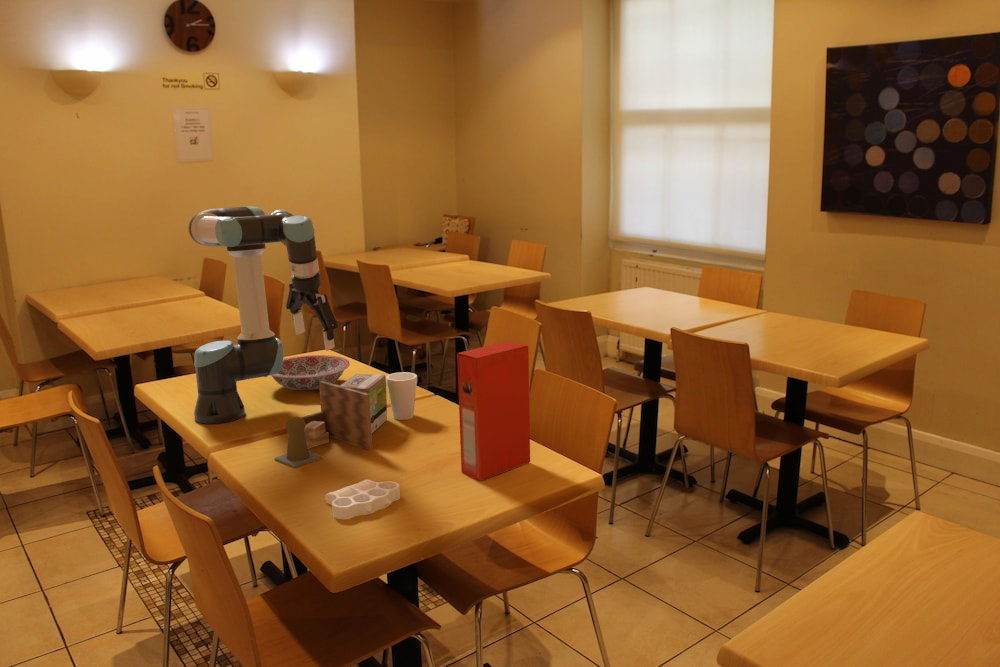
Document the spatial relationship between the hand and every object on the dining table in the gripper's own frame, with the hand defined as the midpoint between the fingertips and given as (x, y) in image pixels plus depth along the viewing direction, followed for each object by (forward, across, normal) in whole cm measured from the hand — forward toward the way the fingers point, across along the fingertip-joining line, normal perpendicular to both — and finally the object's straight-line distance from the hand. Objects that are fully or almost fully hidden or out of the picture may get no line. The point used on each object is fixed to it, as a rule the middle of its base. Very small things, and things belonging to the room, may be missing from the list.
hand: (315, 340), depth 233 cm
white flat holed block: (+15, +49, -26) cm, 57 cm away
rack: (+26, +14, -8) cm, 30 cm away
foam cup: (+33, +10, +21) cm, 41 cm away
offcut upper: (+24, +7, -10) cm, 27 cm away
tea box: (+31, +8, +7) cm, 33 cm away
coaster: (+23, +14, -20) cm, 33 cm away
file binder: (+21, +59, +10) cm, 64 cm away
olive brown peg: (+23, +14, -20) cm, 33 cm away
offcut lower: (+27, +8, -10) cm, 30 cm away
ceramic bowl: (+43, -39, +20) cm, 61 cm away
